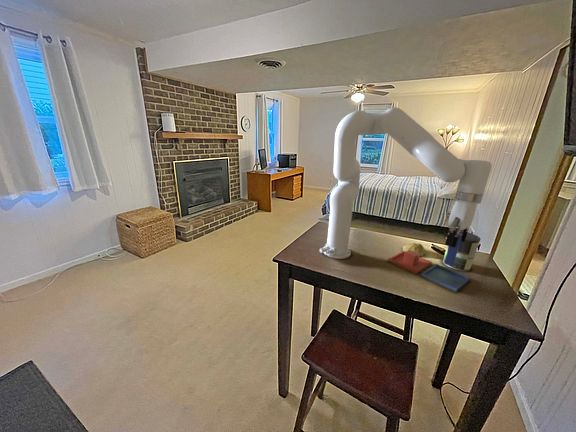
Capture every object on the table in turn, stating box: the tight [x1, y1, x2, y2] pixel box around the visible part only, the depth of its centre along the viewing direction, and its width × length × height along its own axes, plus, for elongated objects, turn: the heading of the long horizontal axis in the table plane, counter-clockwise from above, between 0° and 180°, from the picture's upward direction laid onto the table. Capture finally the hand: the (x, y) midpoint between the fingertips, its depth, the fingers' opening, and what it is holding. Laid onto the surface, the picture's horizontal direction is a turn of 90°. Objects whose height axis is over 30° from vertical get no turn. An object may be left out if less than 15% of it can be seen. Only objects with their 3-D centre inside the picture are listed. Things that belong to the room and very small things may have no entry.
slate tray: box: [420, 263, 471, 292], centre depth 93 cm, size 13×12×2 cm
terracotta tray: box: [387, 250, 432, 274], centre depth 104 cm, size 13×12×2 cm
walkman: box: [443, 230, 463, 266], centre depth 89 cm, size 8×3×12 cm, turn 141°
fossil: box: [402, 242, 427, 257], centre depth 114 cm, size 11×6×10 cm
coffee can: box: [442, 232, 481, 271], centre depth 102 cm, size 10×10×14 cm
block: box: [402, 250, 421, 266], centre depth 103 cm, size 4×4×4 cm
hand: (455, 242), depth 89 cm, fingers closed on walkman, 8 cm apart
